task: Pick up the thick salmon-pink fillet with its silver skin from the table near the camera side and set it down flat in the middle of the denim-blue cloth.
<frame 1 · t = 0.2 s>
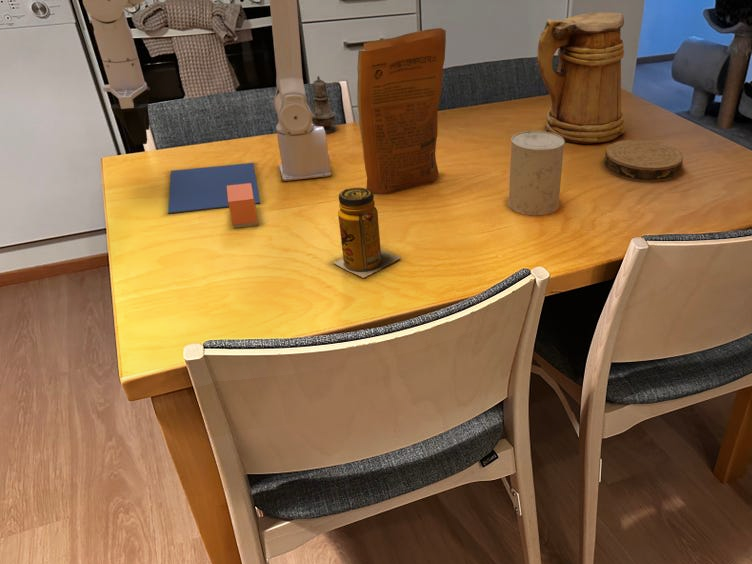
hand: (142, 136, 128), 10 cm above the table, tool pointing down, fingers open, 7 cm apart
pancake mix bag: (406, 186, 137), on the table
brown round disc: (641, 167, 147), on the table
condiment: (367, 262, 113), on the table
grey pagoda figurine: (324, 130, 161), on the table
salmon: (245, 218, 124), on the table
cloth: (214, 187, 135), on the table
grey stone cylinder: (533, 205, 131), on the table
tankard: (575, 133, 163), on the table
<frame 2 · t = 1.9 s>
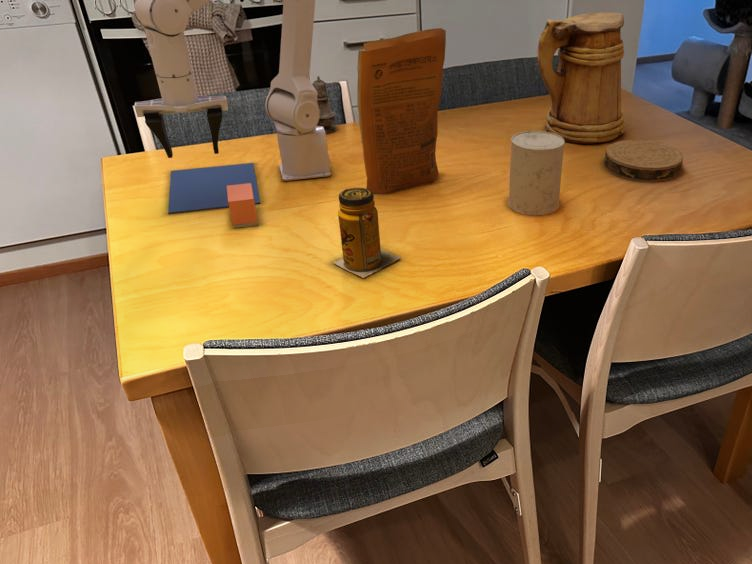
hand: (193, 153, 122), 10 cm above the table, tool pointing down, fingers open, 7 cm apart
nothing on the table moved.
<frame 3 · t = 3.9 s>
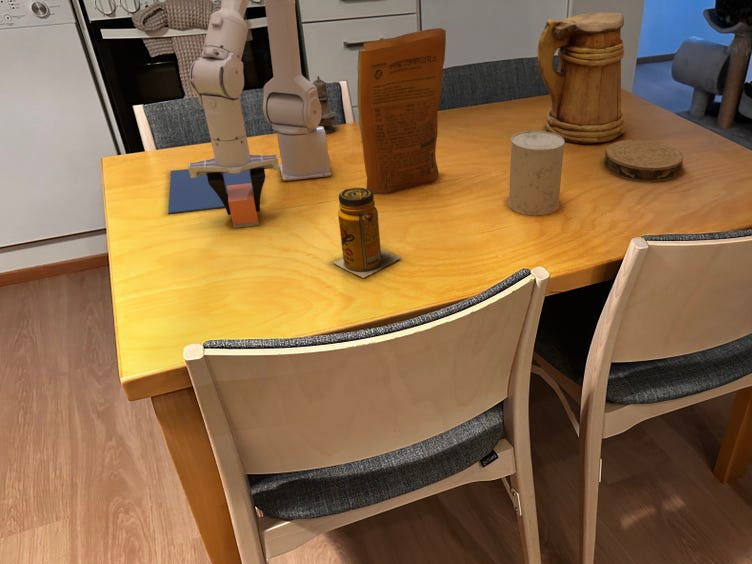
hand: (243, 211, 123), 1 cm above the table, tool pointing down, fingers closed on salmon, 4 cm apart
salmon: (245, 218, 124), on the table, touching gripper
everything else where it was.
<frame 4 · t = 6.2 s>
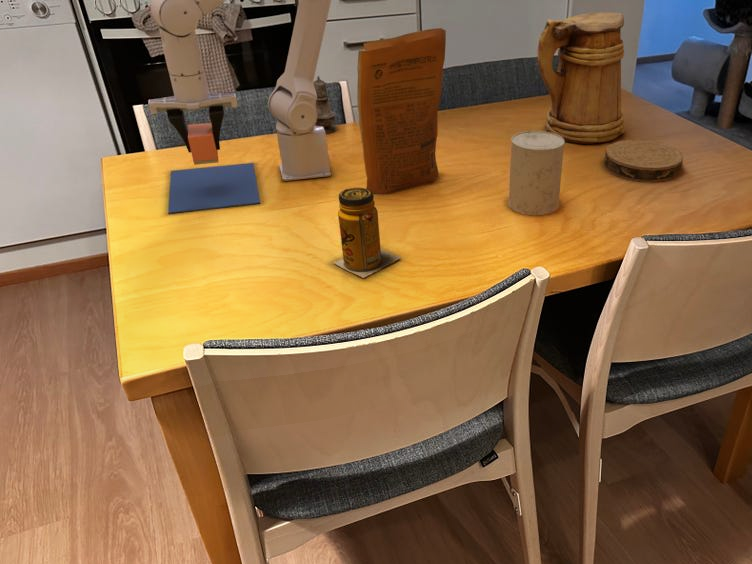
hand: (204, 149, 128), 8 cm above the table, tool pointing down, fingers closed on salmon, 4 cm apart
salmon: (206, 156, 128), point 7 cm above the table, touching gripper
everything else where it was.
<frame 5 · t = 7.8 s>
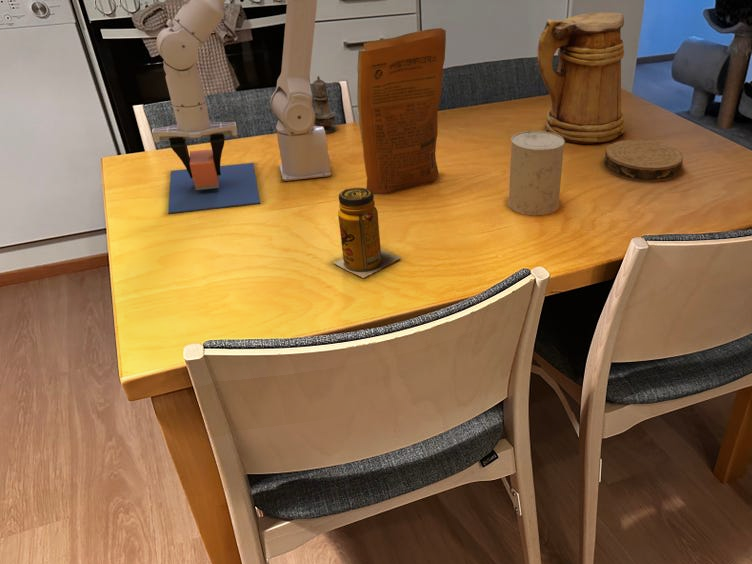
hand: (205, 174, 133), 3 cm above the table, tool pointing down, fingers closed on salmon, 4 cm apart
salmon: (207, 181, 134), point 1 cm above the table, touching gripper
everything else where it was.
when the fingers open (2 cm above the table, at t = 8.5 s): salmon stays where it is, resting on cloth.
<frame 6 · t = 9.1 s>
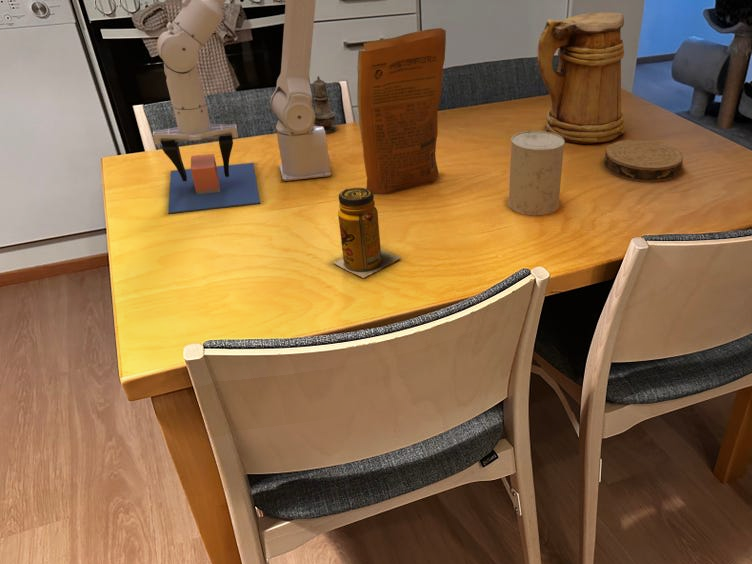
hand: (206, 177, 133), 2 cm above the table, tool pointing down, fingers open, 7 cm apart
salmon: (208, 186, 134), resting on cloth
everything else where it was.
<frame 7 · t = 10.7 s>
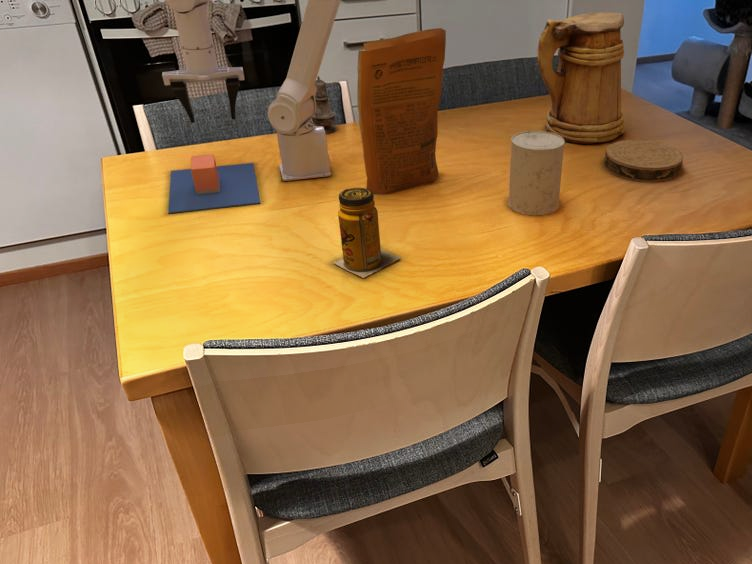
hand: (213, 119, 138), 9 cm above the table, tool pointing down, fingers open, 7 cm apart
nothing on the table moved.
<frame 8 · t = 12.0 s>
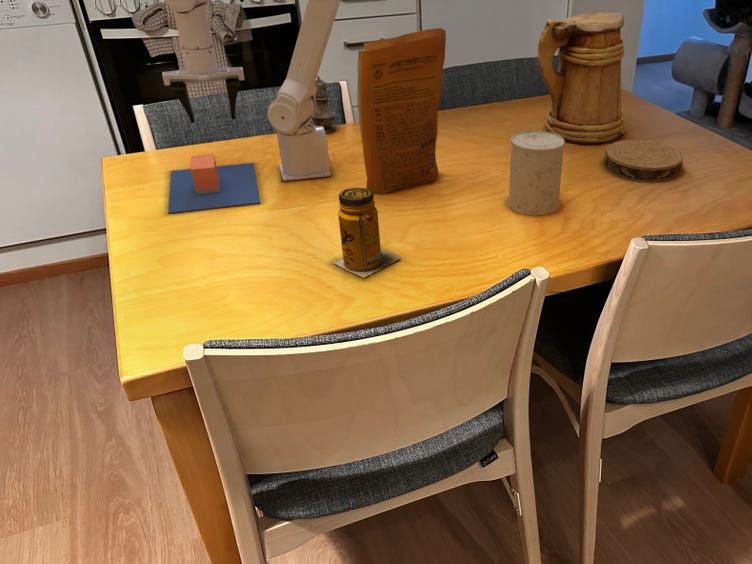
hand: (213, 119, 138), 9 cm above the table, tool pointing down, fingers open, 7 cm apart
nothing on the table moved.
at the end: salmon inside the target area on the cloth (1.0 cm from its centre), point 0.3 cm above the cloth's base; salmon tilted 0°; the gripper is holding nothing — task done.
